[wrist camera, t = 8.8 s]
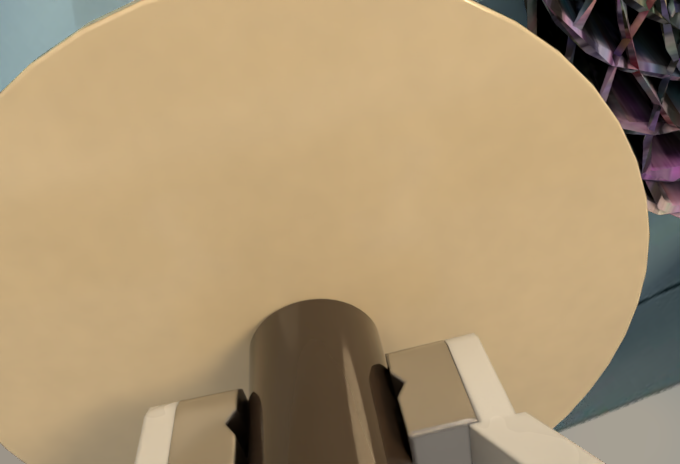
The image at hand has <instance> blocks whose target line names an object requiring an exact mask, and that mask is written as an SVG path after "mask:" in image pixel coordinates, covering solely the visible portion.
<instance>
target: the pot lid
mask: <svg viewBox="0 0 680 464" xmlns="http://www.w3.org/2000/svg"><path fill="white" fill-rule="evenodd" d="M649 236H650V234H649V221H648V208H647V197H646V193H645V189H644V186H643V182H642V178H641V174H640V170H639V166H638V162H637V159H636V157H635V155H634V152H633V150H632V148H631V146H630V144H629V142H628V139H627V137H626V135H625V133H624V131H623V129H622V126H621V124H620V122H619V121H618V119H617V118H616V116H615V115H614V113H613V112H612V111H611V109H610V108H609V106H608V105H607V103H606V102H605V101H604V99H603V98H602V96H601V95H600V94H599V92H598V91H597V89H596V88H595V86H594V85H593V84H592V83H591V82H590V81H589V80H588V79H587V78H586V77H585V76H584V75H583V74H582V73H581V72H580V71H579V70H578V69H577V68H576V67H575V66H574V65H573V64H572V63H571V62H570V61H569V60H568V59H567V58H566V57H565V56H564V55H563V54H561V53H560V52H559V51H558V50H557V49H555V48H554V47H552V46H551V45H549V44H548V43H547V42H545V41H544V40H542V39H541V38H539V37H538V36H537V35H535V34H534V33H532V32H531V31H529V30H528V29H526V28H525V27H524V26H522V25H521V24H519V23H518V22H516V21H515V20H513V19H511V18H509V17H507V16H506V15H503V14H501V13H499V12H497V11H495V10H493V9H491V8H489V7H487V6H485V5H483V4H480V3H478V2H476V1H474V0H134V1H132V2H130V3H128V4H126V5H124V6H122V7H120V8H118V9H116V10H114V11H111V12H109V13H107V14H105V15H103V16H101V17H99V18H97V19H95V20H93V21H91V22H89V23H87V24H86V25H84V26H83V27H81V28H80V29H78V30H77V31H75V32H74V33H73V34H71V35H70V36H68V37H67V38H65V39H64V40H62V41H61V42H59V43H58V44H57V45H55V46H54V47H52V48H51V49H49V50H48V51H46V52H45V53H43V54H42V55H41V56H39V57H38V58H37V59H35V60H34V61H33V62H32V63H31V64H29V65H28V66H27V67H26V68H25V69H24V70H23V71H22V72H21V73H20V74H19V75H18V76H17V77H16V78H15V79H14V80H13V81H12V82H11V83H10V84H9V85H8V86H7V87H6V88H5V89H4V90H2V91H1V92H0V443H1V444H2V445H3V446H4V447H5V448H6V449H7V450H8V451H9V452H11V453H12V454H13V455H15V456H16V457H17V458H19V459H20V460H21V461H23V462H24V463H25V464H134V462H135V457H136V453H137V448H138V443H139V438H140V434H141V429H142V424H143V419H144V416H145V415H146V413H147V411H148V410H149V408H150V407H154V406H159V405H164V404H169V403H173V402H178V401H181V400H186V399H191V398H196V397H200V396H205V395H210V394H215V393H220V392H225V391H230V390H235V389H243V391H244V393H245V395H246V397H247V399H248V464H413V461H412V458H411V454H410V450H409V447H408V443H407V439H406V436H405V432H404V429H403V425H402V420H401V414H400V409H399V405H398V403H397V402H396V399H395V395H394V392H393V388H392V384H391V380H390V376H389V373H388V369H387V363H386V358H385V354H387V353H391V352H395V351H399V350H403V349H407V348H412V347H416V346H420V345H424V344H428V343H432V342H436V341H440V340H443V341H444V340H445V339H450V338H454V337H458V336H462V335H467V334H471V333H474V334H476V335H477V336H478V337H479V339H480V341H481V343H482V345H483V347H484V349H485V351H486V354H487V356H488V358H489V360H490V362H491V364H492V366H493V368H494V370H495V372H496V374H497V376H498V378H499V380H500V382H501V384H502V386H503V388H504V390H505V392H506V394H507V396H508V398H509V400H510V402H511V404H512V406H513V408H514V410H515V412H516V413H521V412H527V413H529V414H530V415H532V416H533V417H535V418H536V419H538V420H539V421H541V422H543V423H544V424H546V425H547V426H549V427H550V428H552V429H553V428H554V427H555V426H556V425H557V424H558V423H560V422H561V421H562V420H563V419H564V418H565V417H566V416H567V415H568V414H569V413H570V412H571V411H572V410H573V409H574V408H575V406H576V405H577V404H578V403H579V402H580V401H581V400H582V399H583V398H584V397H585V395H586V394H587V393H588V392H589V391H590V390H591V388H592V387H593V386H594V384H595V383H596V381H597V380H598V379H599V377H600V376H601V375H602V373H603V372H604V370H605V369H606V368H607V366H608V365H609V363H610V362H611V360H612V358H613V356H614V355H615V353H616V351H617V349H618V347H619V346H620V344H621V342H622V340H623V339H624V337H625V335H626V333H627V330H628V328H629V325H630V323H631V320H632V318H633V315H634V313H635V310H636V308H637V305H638V302H639V298H640V294H641V290H642V286H643V282H644V278H645V274H646V270H647V259H648V247H649Z"/></svg>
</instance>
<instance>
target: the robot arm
mask: <svg viewBox="0 0 680 464" xmlns="http://www.w3.org/2000/svg"><path fill="white" fill-rule="evenodd" d="M385 358H386V363H387V369H388V373H389V376H390V380H391V384H392V388H393V392H394V395H395V399H396V402H397V403H398V405H399V409H400V414H401V420H402V425H403V429H404V432H405V436H406V439H407V443H408V447H409V450H410V454H411V458H412V461H413V464H606V463H604V462H603V461H601V460H600V459H598V458H596V457H595V456H593V455H592V454H590V453H589V452H587V451H586V450H584V449H582V448H581V447H580V446H578V445H576V444H575V443H573V442H572V441H570V440H569V439H567V438H566V437H564V436H562V435H561V434H559V433H558V432H556V431H555V430H553V429H552V428H550V427H549V426H547V425H546V424H544V423H543V422H541V421H539V420H538V419H536V418H535V417H533V416H532V415H530V414H529V413H527V412H521V413H516V412H515V410H514V408H513V406H512V404H511V402H510V400H509V398H508V396H507V394H506V392H505V390H504V388H503V386H502V384H501V382H500V380H499V378H498V376H497V374H496V372H495V370H494V368H493V366H492V364H491V362H490V360H489V358H488V356H487V354H486V351H485V349H484V347H483V345H482V343H481V341H480V339H479V337H478V336H477V335H476V334H474V333H471V334H467V335H462V336H458V337H454V338H450V339H445V340H444V341H443V340H440V341H436V342H432V343H428V344H424V345H420V346H416V347H412V348H407V349H403V350H399V351H395V352H391V353H387V354H385ZM134 464H248V399H247V397H246V395H245V393H244V391H243V389H235V390H230V391H225V392H220V393H215V394H210V395H205V396H200V397H196V398H191V399H186V400H181V401H178V402H173V403H169V404H164V405H159V406H154V407H150V408H149V410H148V411H147V413H146V415H145V416H144V419H143V424H142V429H141V434H140V438H139V443H138V448H137V453H136V457H135V462H134Z"/></svg>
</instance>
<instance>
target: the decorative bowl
mask: <svg viewBox="0 0 680 464" xmlns="http://www.w3.org/2000/svg"><path fill="white" fill-rule="evenodd" d="M524 3H525V7H526V12H527V29H528V30H529V31H531V32H532V33H534V34H535V35H537V36H538V37H539V38H541V39H542V40H544V41H545V42H547V43H548V44H549V45H551V46H552V47H554V48H555V49H557V50H558V51H559V52H560V53H561V54H563V55H564V56H565V57H566V58H567V59H568V60H569V61H570V62H571V63H572V64H573V65H574V66H575V67H576V68H577V69H578V70H579V71H580V72H581V73H582V74H583V75H584V76H585V77H586V78H587V79H588V80H589V81H590V82H591V83H592V84H593V85H594V86H595V88H596V89H597V91H598V92H599V94H600V95H601V96H602V98H603V99H604V101H605V102H606V103H607V105H608V106H609V108H610V109H611V111H612V112H613V113H614V115H615V116H616V118H617V119H618V121H619V122H620V124H621V126H622V129H623V131H624V133H625V135H626V137H627V139H628V142H629V144H630V146H631V148H632V150H633V152H634V155H635V157H636V159H637V162H638V166H639V170H640V174H641V178H642V182H643V186H644V189H645V193H646V197H647V208H648V211H650V212H653V213H655V214H658V215H663V214H671V215H674V216H676V217H678V218H680V0H524Z"/></svg>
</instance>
